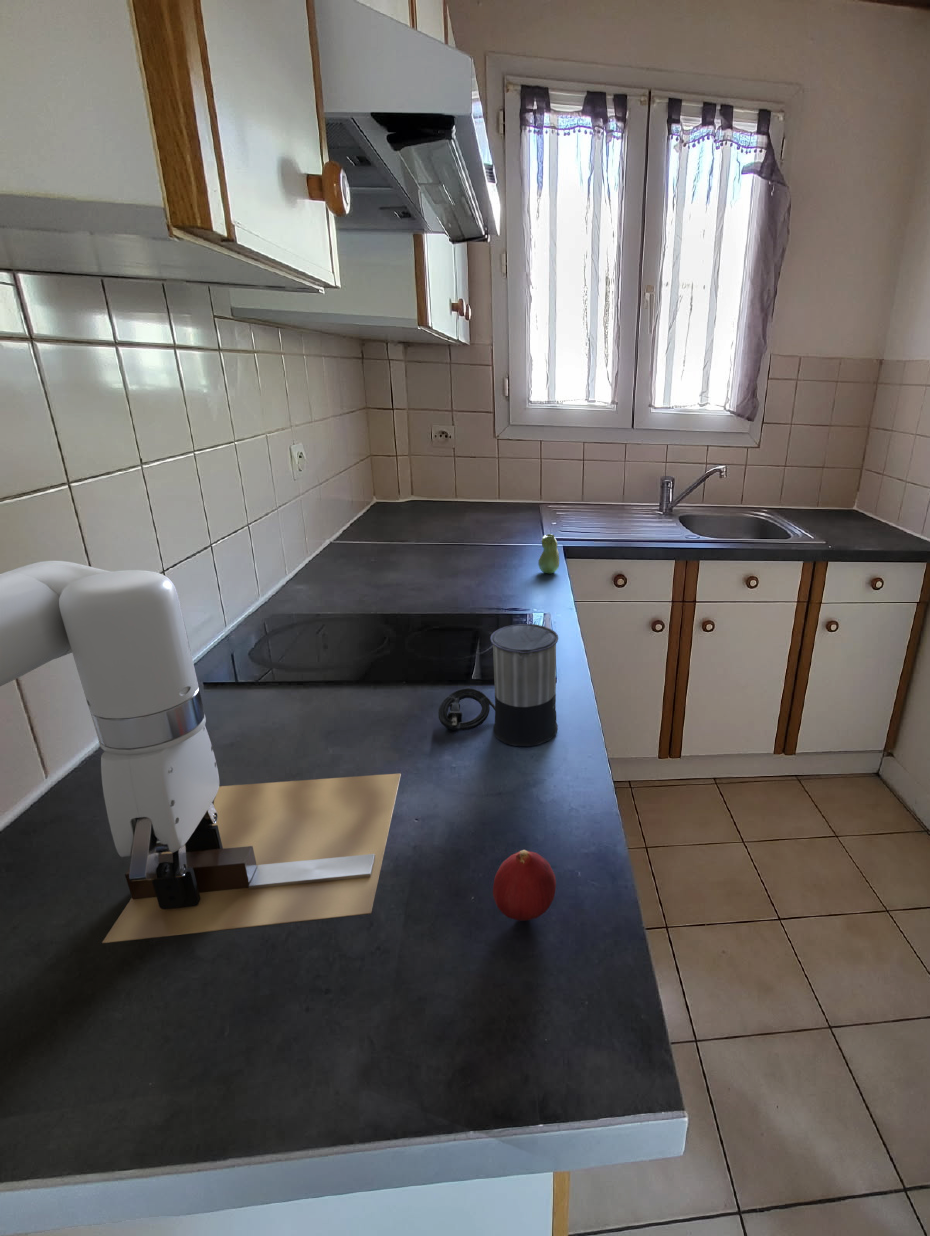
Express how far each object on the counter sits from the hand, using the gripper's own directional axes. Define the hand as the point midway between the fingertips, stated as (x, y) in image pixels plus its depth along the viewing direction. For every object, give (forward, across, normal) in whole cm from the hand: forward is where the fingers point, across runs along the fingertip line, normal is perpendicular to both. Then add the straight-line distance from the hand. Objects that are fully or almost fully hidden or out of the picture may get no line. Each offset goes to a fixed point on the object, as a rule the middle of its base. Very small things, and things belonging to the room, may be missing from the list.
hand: (193, 880), depth 61 cm
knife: (+1, 0, +6) cm, 6 cm away
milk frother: (+2, -28, +29) cm, 40 cm away
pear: (+2, -101, +42) cm, 110 cm away
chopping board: (+2, -5, +6) cm, 8 cm away
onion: (+2, +7, +31) cm, 32 cm away
